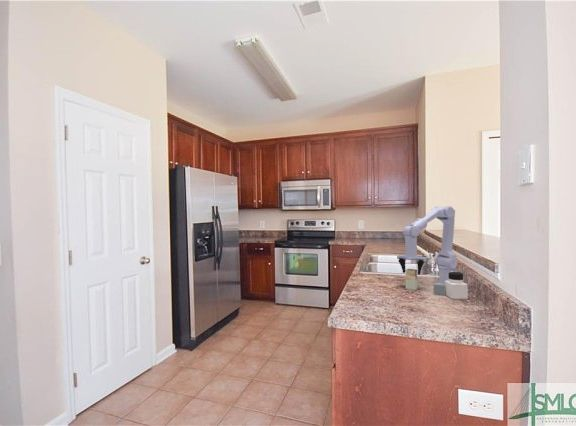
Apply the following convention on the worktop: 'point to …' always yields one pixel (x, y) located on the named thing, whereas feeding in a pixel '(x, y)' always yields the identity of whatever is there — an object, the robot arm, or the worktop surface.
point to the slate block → (439, 289)
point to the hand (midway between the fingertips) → (411, 273)
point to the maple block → (411, 274)
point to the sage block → (411, 284)
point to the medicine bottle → (456, 286)
